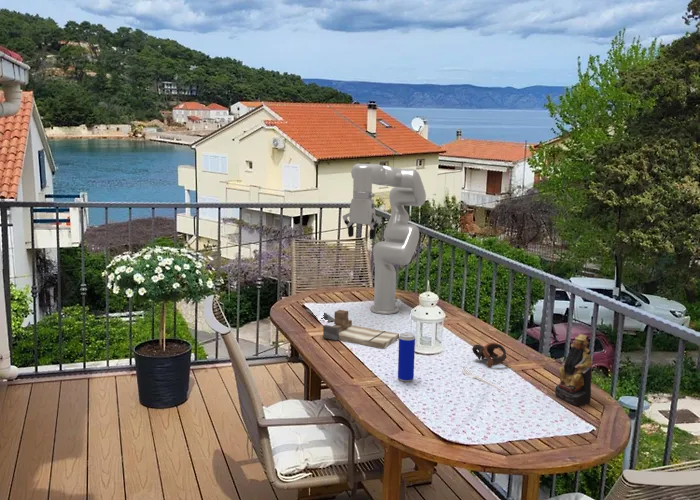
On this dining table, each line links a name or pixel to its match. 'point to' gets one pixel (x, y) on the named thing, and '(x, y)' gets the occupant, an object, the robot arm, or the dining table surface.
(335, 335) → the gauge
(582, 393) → the statue
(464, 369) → the fork
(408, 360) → the beverage can
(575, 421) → the dining table surface
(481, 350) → the brown looped ornament
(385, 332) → the board
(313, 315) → the driftwood
